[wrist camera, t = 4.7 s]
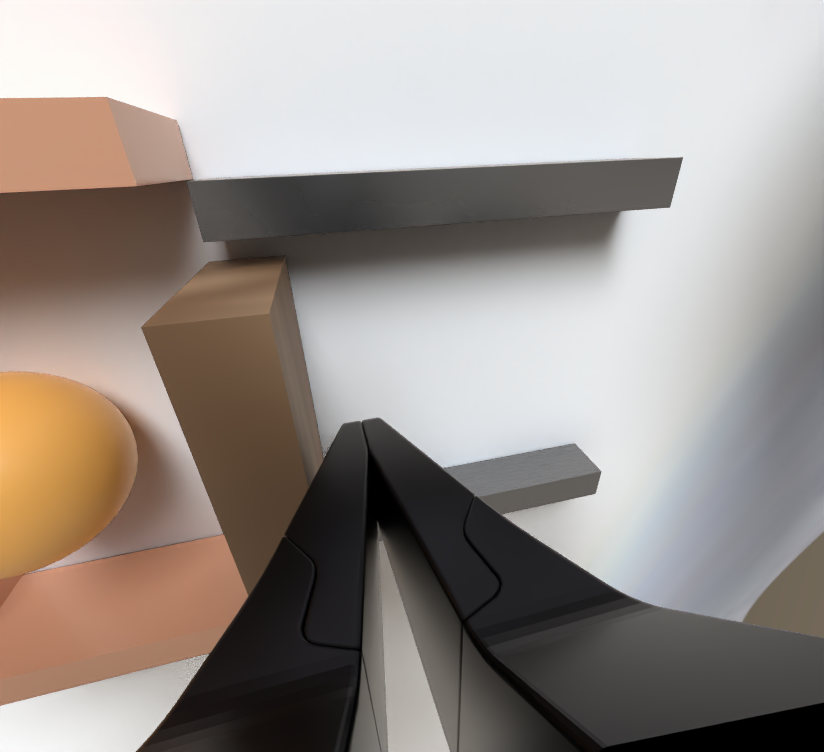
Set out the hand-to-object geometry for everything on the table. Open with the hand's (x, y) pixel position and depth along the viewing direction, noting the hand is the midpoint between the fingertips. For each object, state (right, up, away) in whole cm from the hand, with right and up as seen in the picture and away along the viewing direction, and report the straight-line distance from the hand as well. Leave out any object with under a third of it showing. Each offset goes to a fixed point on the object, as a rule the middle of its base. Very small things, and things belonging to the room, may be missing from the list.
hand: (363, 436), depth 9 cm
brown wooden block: (-2, +1, +2) cm, 3 cm away
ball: (-7, -1, -1) cm, 7 cm away
